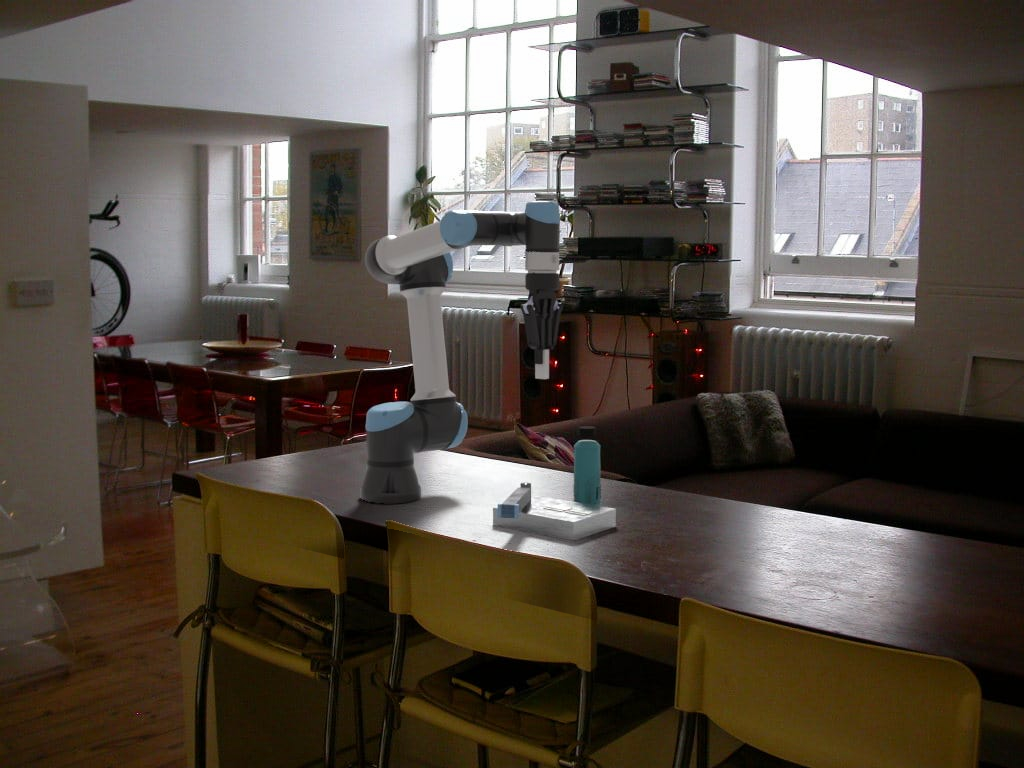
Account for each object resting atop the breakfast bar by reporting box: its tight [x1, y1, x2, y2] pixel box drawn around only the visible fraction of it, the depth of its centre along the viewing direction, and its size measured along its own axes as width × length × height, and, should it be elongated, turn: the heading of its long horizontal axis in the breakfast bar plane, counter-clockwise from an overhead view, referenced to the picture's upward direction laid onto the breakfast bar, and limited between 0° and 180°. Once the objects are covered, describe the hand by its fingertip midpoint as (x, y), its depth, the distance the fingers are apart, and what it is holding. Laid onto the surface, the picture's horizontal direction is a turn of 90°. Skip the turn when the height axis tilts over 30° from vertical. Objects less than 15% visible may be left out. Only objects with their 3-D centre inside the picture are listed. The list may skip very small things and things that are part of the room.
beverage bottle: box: [572, 425, 602, 506], centre depth 258 cm, size 6×7×20 cm
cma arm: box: [497, 487, 530, 519], centre depth 237 cm, size 18×4×3 cm, turn 169°
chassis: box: [492, 482, 617, 542], centre depth 243 cm, size 22×16×8 cm
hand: (542, 378), depth 245 cm, fingers closed
